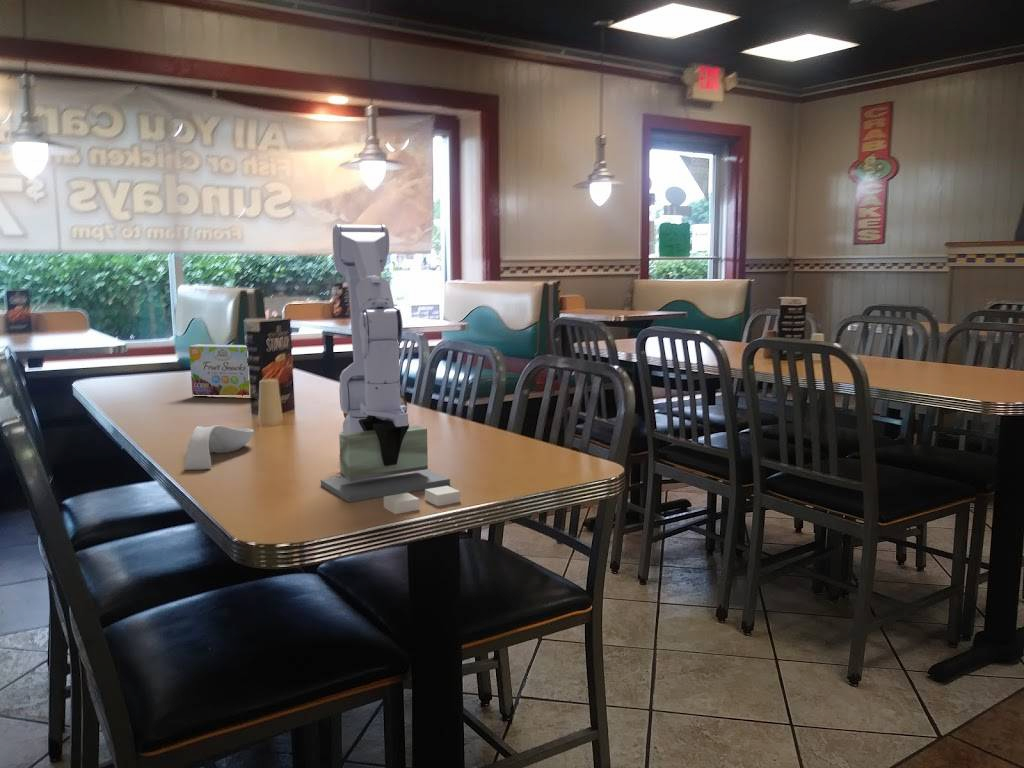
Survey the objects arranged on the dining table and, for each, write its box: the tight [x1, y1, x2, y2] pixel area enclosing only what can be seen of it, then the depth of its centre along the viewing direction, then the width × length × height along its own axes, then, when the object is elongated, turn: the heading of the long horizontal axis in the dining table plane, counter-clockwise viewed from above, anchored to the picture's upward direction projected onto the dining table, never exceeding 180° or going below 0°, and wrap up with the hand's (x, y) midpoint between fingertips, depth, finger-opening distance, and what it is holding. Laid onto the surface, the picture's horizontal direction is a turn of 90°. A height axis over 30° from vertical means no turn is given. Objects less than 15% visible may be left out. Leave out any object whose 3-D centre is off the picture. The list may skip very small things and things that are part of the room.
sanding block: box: [338, 424, 429, 481], centre depth 133 cm, size 4×14×7 cm, turn 124°
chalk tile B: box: [424, 485, 461, 507], centre depth 124 cm, size 4×4×2 cm
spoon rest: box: [184, 424, 255, 471], centre depth 156 cm, size 24×12×7 cm, turn 6°
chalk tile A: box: [383, 492, 420, 515], centre depth 120 cm, size 4×4×2 cm
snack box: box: [188, 343, 249, 396], centre depth 229 cm, size 21×6×15 cm, turn 81°
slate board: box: [320, 469, 451, 503], centre depth 133 cm, size 12×18×1 cm, turn 124°
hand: (384, 462), depth 133 cm, fingers closed on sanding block, 4 cm apart
